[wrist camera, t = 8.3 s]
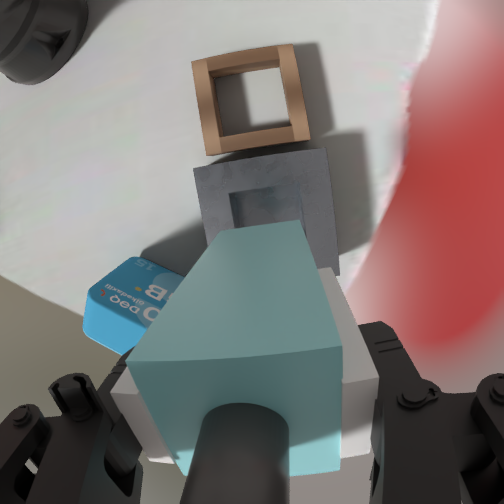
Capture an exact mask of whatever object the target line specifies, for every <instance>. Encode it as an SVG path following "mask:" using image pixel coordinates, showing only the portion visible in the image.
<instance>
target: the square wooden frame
mask: <svg viewBox="0 0 504 504" xmlns="http://www.w3.org/2000/svg"><path fill="white" fill-rule="evenodd" d="M191 63H192V70H193V76H194V83H195V89H196V96H197V102H198V108H199V114H200V120H201V126H202V132H203V138H204V144H205V150H206V156H215V155H220V154H225V153H231V152H236V151H242V150H248V149H254V148H261V147H267V146H274V145H281V144H289V143H296V142H304V141H309V140H310V139H311V138H310V132H309V126H308V120H307V115H306V109H305V104H304V98H303V93H302V88H301V83H300V78H299V73H298V68H297V63H296V58H295V54H294V49H293V45H292V44H286V45H277V46H270V47H263V48H256V49H250V50H244V51H238V52H233V53H228V54H223V55H218V56H213V57H209V58H204V59H200V60H196V61H192V62H191ZM277 67H280V72H281V77H282V82H283V88H284V93H285V98H286V104H287V109H288V115H289V121H290V126H288V127H280V128H273V129H267V130H260V131H254V132H248V133H242V134H236V135H231V136H225V137H224V136H223V130H222V124H221V118H220V112H219V106H218V100H217V94H216V88H215V82H214V78H218V77H223V76H228V75H233V74H238V73H244V72H250V71H256V70H263V69H269V68H277Z"/></svg>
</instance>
